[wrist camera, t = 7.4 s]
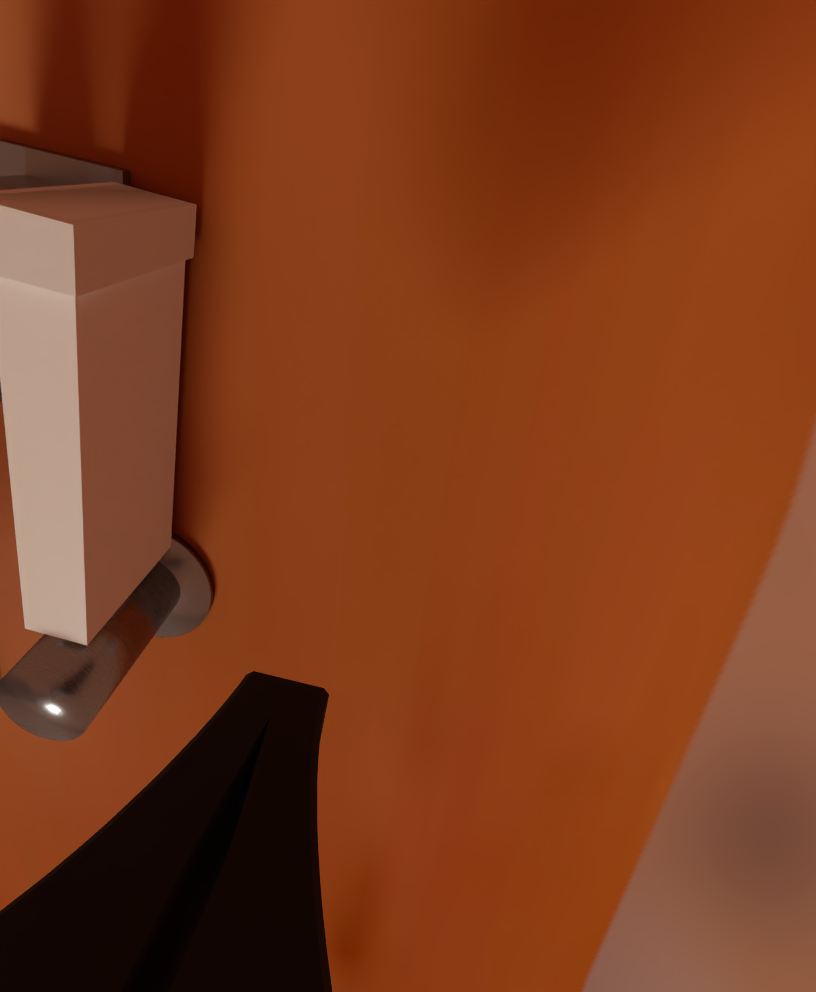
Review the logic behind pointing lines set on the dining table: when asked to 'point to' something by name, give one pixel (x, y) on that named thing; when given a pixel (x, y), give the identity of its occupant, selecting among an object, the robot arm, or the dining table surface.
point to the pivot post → (105, 649)
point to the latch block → (50, 170)
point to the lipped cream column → (90, 391)
